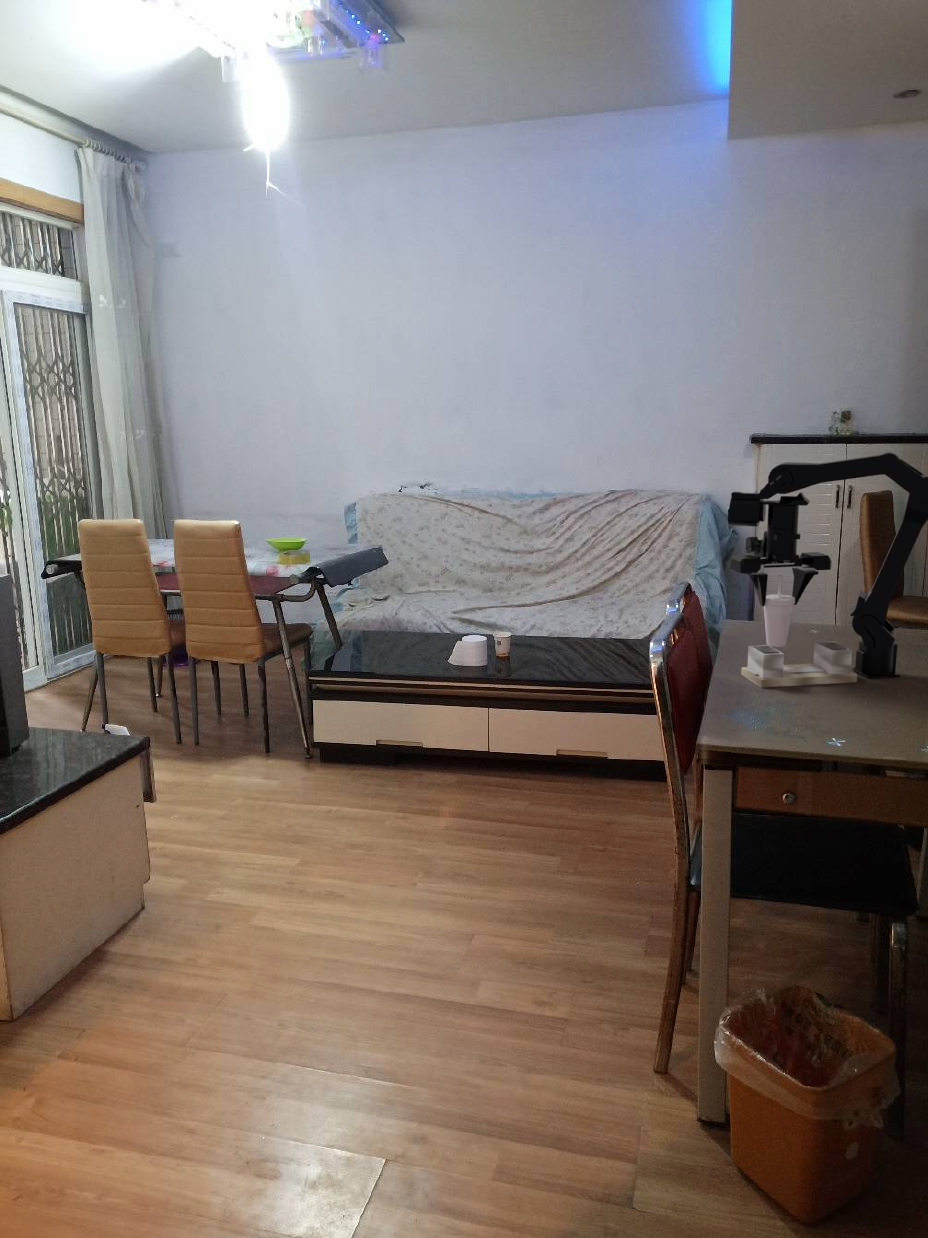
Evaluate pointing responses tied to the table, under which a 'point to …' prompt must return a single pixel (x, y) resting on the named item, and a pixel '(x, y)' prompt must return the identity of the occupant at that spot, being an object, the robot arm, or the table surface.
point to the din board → (799, 666)
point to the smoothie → (777, 617)
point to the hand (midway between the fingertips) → (778, 605)
